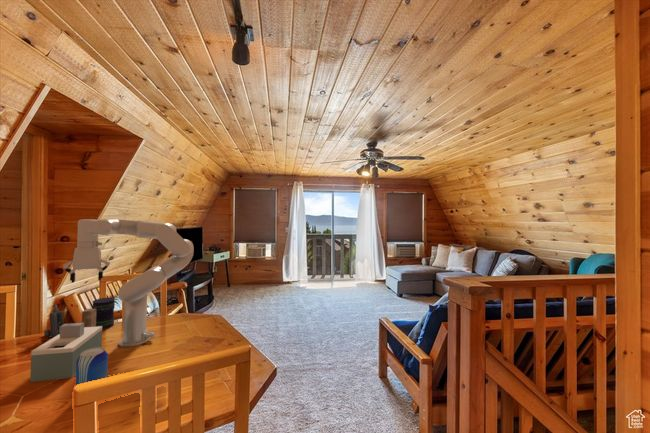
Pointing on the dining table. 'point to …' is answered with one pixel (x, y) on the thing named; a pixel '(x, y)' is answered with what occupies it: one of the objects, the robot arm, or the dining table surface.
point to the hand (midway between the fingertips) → (86, 280)
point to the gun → (55, 323)
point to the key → (89, 317)
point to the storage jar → (104, 312)
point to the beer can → (92, 365)
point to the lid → (67, 339)
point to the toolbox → (60, 362)
